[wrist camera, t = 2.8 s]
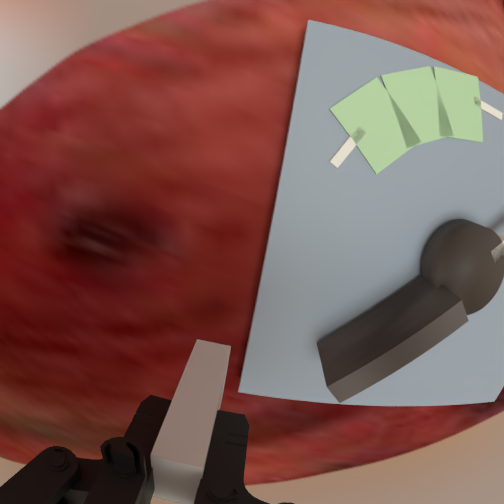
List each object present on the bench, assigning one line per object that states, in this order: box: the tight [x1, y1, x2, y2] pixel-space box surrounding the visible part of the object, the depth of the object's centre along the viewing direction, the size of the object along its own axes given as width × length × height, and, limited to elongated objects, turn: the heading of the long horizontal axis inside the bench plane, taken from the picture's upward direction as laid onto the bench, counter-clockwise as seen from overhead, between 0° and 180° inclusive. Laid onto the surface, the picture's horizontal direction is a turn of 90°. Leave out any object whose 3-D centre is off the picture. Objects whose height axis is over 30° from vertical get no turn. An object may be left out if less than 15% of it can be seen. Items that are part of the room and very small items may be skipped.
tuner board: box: [238, 20, 504, 406], centre depth 17 cm, size 22×22×2 cm
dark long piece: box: [317, 219, 504, 403], centre depth 14 cm, size 21×5×4 cm, turn 125°
